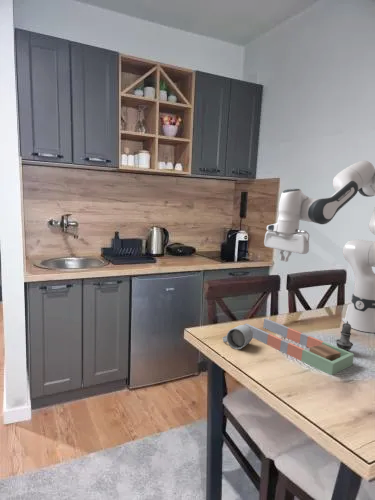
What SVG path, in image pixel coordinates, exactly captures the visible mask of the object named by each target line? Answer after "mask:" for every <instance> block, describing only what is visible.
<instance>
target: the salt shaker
mask: <svg viewBox="0 0 375 500" xmlns="http://www.w3.org/2000/svg"><path fill="white" fill-rule="evenodd" d="M351 332H352V328H351V325H350V324H349V323H348V321H347V323H345V322H344V323H343V324H342V328H341V331H340V338H339V339H336V340H335V343H336V347H338V348H341V349H343V350H346V351H348V352H351V351H350V350H351V349H352V348H353V346H354V343H353V342H351V340H350V339H351V336H352V333H351Z"/></svg>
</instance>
